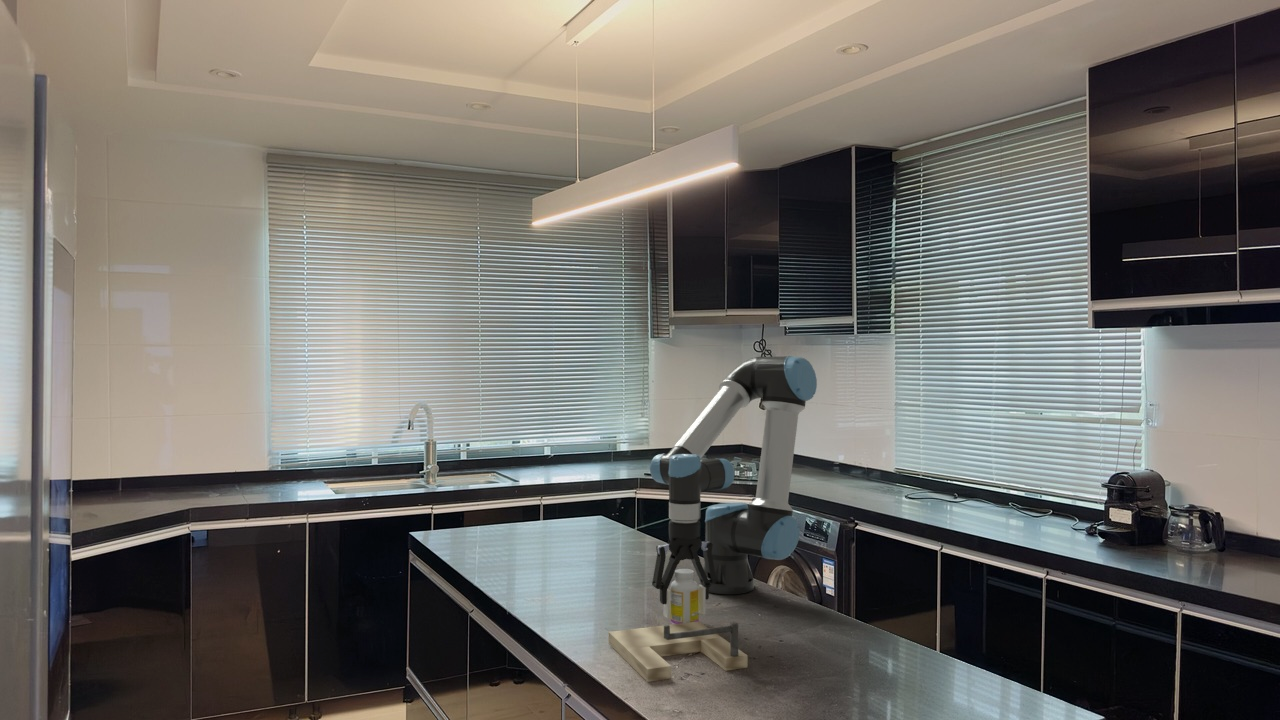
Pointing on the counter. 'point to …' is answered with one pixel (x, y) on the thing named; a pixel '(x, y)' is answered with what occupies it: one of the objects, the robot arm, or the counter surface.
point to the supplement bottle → (684, 597)
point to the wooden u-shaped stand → (676, 647)
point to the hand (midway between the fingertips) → (684, 615)
